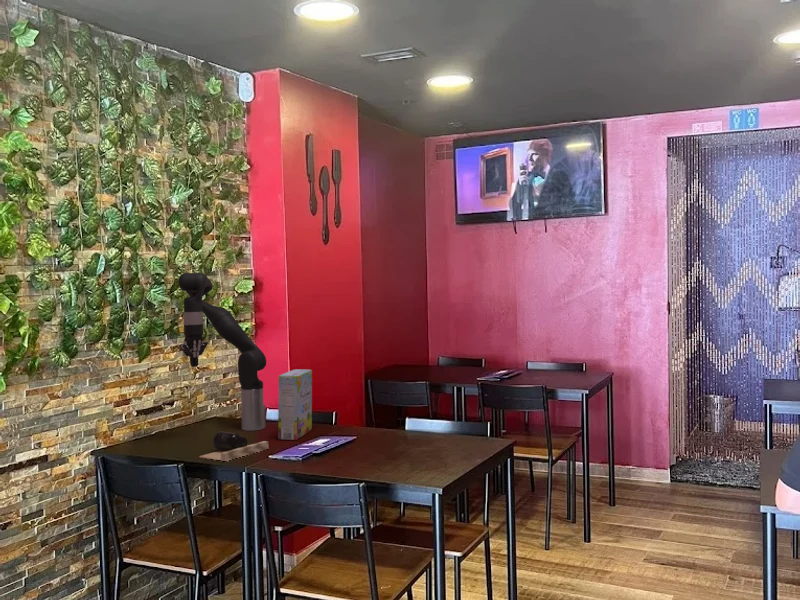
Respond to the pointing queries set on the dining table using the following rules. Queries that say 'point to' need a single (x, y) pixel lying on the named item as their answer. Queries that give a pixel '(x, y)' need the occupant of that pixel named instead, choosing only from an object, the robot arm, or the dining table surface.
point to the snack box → (295, 404)
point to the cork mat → (213, 455)
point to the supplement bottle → (228, 441)
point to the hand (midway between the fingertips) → (194, 366)
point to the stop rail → (244, 451)
